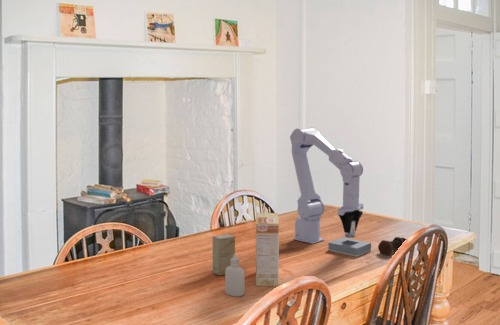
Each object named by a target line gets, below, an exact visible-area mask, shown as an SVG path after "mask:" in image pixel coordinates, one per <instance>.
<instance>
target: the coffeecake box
mask: <svg viewBox="0 0 500 325" xmlns="http://www.w3.org/2000/svg"><path fill="white" fill-rule="evenodd" d="M255 216H256V217H255V218H256V220H255V286H256V287H279V278H280V277H279V276H280V275H279V273H280V272H279V269H280V268H279V266H280V264H279V261H280V260H279V258H280V257H279V256H280V255H279V254H280V253H279V252H280V251H279V250H280V249H279V248H280V247H279V246H280V245H279V244H280V239H279V236H280V234H279V232H280V230H279V225H280V224H279V222H280V221H279V214H278V213H277V212H256V215H255Z"/></svg>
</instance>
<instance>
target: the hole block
mask: <svg viewBox="0 0 500 325" xmlns="http://www.w3.org/2000/svg"><path fill="white" fill-rule="evenodd" d="M327 248H328V251H329V252H334V253H337V254H342V255H345V256H346V255H347V256H351V257H357V258H358V257H359V256H362V255H365V254H367V253H369V252H371V251H372V242H367V241H363V240H359V239H354V238H347V237H345V236H344V237H343V236H342V237H339V238H336V239H335V240H332V241H329V242H328V247H327Z"/></svg>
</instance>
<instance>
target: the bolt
mask: <svg viewBox="0 0 500 325" xmlns="http://www.w3.org/2000/svg"><path fill="white" fill-rule="evenodd" d="M405 240H407V239H406V238H405V237H400V236H399V237H398V236H396V237H394V238H393V240H391V241H390V240H385V239H383V240H381V241H380V242H379V244H378V245H377V249H378V251H379V253H380V255H383V256H390V255H392V253H393V251H394V250H398V248H399V247H400V246H401V245H402V243H403V242H404V241H405Z"/></svg>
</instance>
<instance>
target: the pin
mask: <svg viewBox="0 0 500 325" xmlns="http://www.w3.org/2000/svg"><path fill="white" fill-rule="evenodd" d="M355 237H356V231H355V220H352V223H351V231H350V233H347V232H344V238H349V239H354V238H355Z"/></svg>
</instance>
